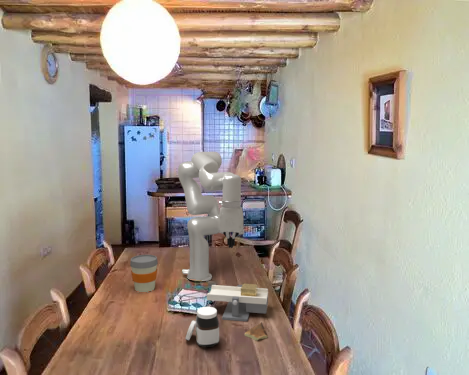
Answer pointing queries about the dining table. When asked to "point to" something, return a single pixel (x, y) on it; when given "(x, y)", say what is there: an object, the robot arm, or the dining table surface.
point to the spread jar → (205, 327)
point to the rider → (249, 290)
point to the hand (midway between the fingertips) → (231, 246)
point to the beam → (240, 297)
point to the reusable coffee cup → (144, 272)
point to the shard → (257, 332)
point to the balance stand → (236, 310)
